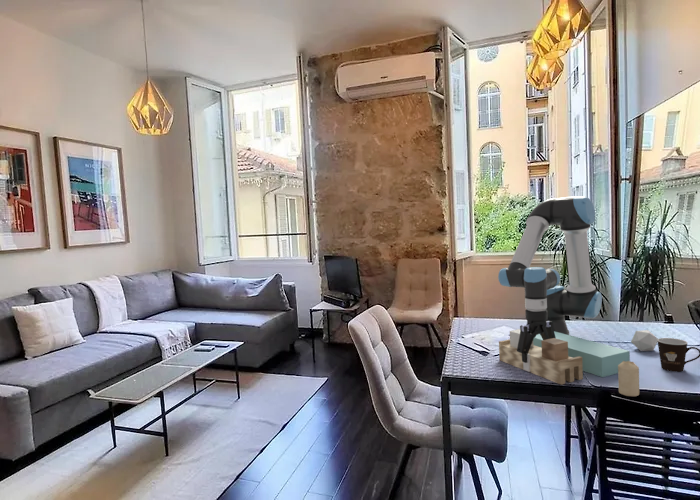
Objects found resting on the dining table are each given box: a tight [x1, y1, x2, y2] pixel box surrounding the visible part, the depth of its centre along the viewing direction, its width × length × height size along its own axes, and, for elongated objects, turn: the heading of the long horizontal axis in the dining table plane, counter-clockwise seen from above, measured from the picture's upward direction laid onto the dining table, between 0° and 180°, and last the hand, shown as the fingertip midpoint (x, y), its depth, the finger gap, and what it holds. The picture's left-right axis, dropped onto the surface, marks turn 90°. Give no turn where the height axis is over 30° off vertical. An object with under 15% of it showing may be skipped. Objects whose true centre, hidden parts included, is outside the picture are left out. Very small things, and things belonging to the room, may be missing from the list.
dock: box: [533, 331, 631, 378], centre depth 169 cm, size 34×14×7 cm, turn 22°
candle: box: [617, 360, 640, 397], centre depth 137 cm, size 6×6×10 cm
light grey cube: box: [509, 328, 534, 348], centre depth 169 cm, size 6×6×6 cm
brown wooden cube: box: [541, 338, 568, 362], centre depth 154 cm, size 6×6×6 cm
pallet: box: [498, 338, 584, 385], centre depth 162 cm, size 30×10×8 cm, turn 22°
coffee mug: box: [657, 337, 700, 373], centre depth 153 cm, size 12×9×10 cm
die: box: [630, 329, 659, 352], centre depth 177 cm, size 8×9×10 cm
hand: (538, 367), depth 162 cm, fingers closed on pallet, 10 cm apart
